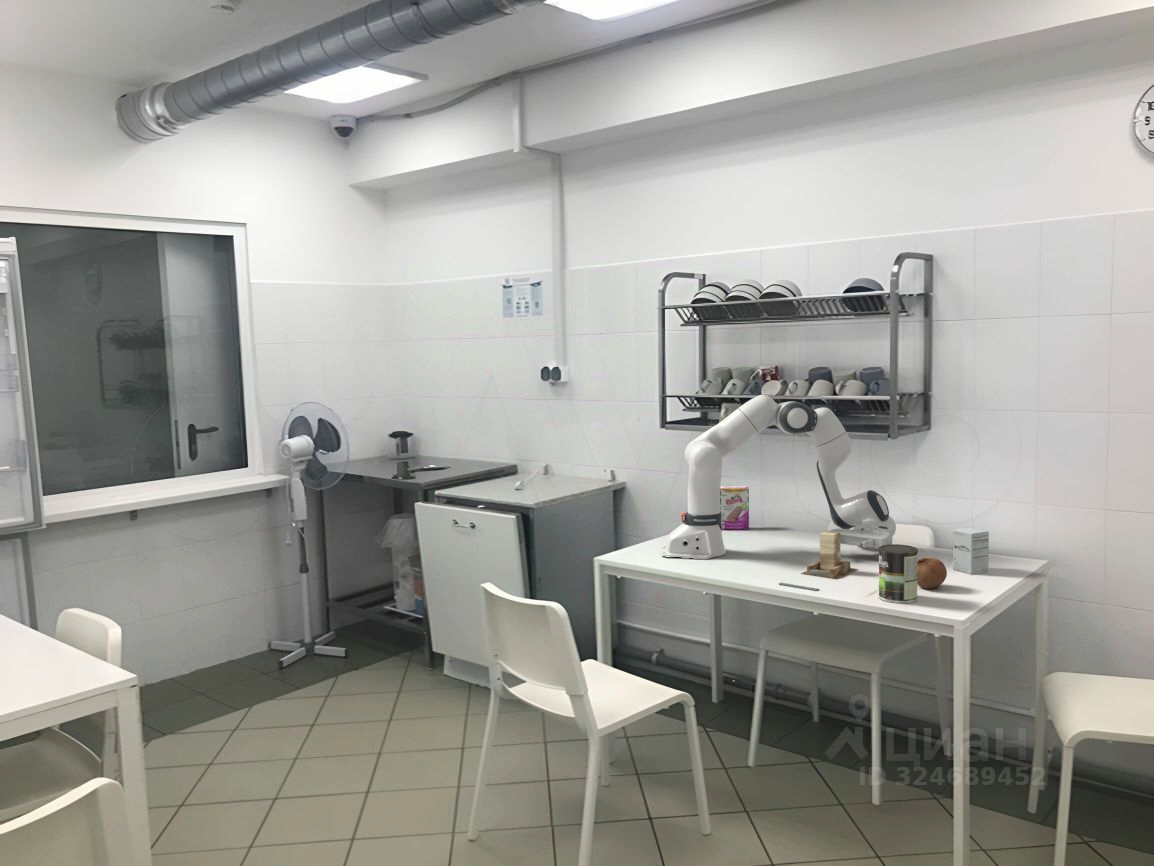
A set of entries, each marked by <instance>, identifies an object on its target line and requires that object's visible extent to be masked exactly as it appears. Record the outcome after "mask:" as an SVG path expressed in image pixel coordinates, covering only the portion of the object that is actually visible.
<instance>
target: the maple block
mask: <svg viewBox="0 0 1154 866" xmlns="http://www.w3.org/2000/svg"><path fill="white" fill-rule="evenodd" d="M819 555H820V556H819V561H820V570H822V571H829V572H830V569H832V568H834V567H836V566H838V565H840V564H841V561H842V559H841V544H840V532H833V531H829V530H826V531H823V532H820V533H819Z"/></svg>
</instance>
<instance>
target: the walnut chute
mask: <svg viewBox="0 0 1154 866" xmlns="http://www.w3.org/2000/svg"><path fill="white" fill-rule="evenodd" d="M858 570H859V568H853V567H851V561H846V560H841V564H840V565H838V566H836V567H834V568H832V569H830V572H829V571H822V570H820V560H818V561H815V562H813V563H811V564H808V565H806V571H803V572H800V575H804V576H805V575H806V576H810V577H811V576H812V577H817V578H825V579H830V580H831V579H832V580H839V579H842V578H844V577H846V576H847V575H850V574H852V573H854V572H856V571H858Z"/></svg>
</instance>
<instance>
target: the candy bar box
mask: <svg viewBox="0 0 1154 866" xmlns="http://www.w3.org/2000/svg"><path fill="white" fill-rule="evenodd" d="M749 489H750V488H749V486H746V485H742V486H741V485H738V486H737V485H736V486H735V485H734V486H733V485H731V486H730V485H729V486H727V485H726V486H722V485H720V512H721V514H722V528H721V531H727V530H729V531H731V530H732V531H733V530H735V531H737V530H740V531H741V530H745V531H746V530H750V508H749V506H750V504H749V503H750V498H749V497H750V496H749V495H750V494H749V493H750V492H749V491H750V490H749Z"/></svg>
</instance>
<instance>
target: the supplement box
mask: <svg viewBox="0 0 1154 866" xmlns="http://www.w3.org/2000/svg"><path fill="white" fill-rule="evenodd" d="M952 534H953V538H952V548H953V549H952V569H953V570H954V571H955V570H956V571H959V572H963V573H967V574H969V575H976V574H980V573H985V572H989V552H990V551H989V550H990V549H989V548H990V547H989V545H990V543H989V542H990V541H989V539H990V536H989V535H990V531H988V530H984V529H979V528H975V527H972V526H971V527H970V526H969V527H962V528H955V529H953V533H952Z"/></svg>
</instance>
